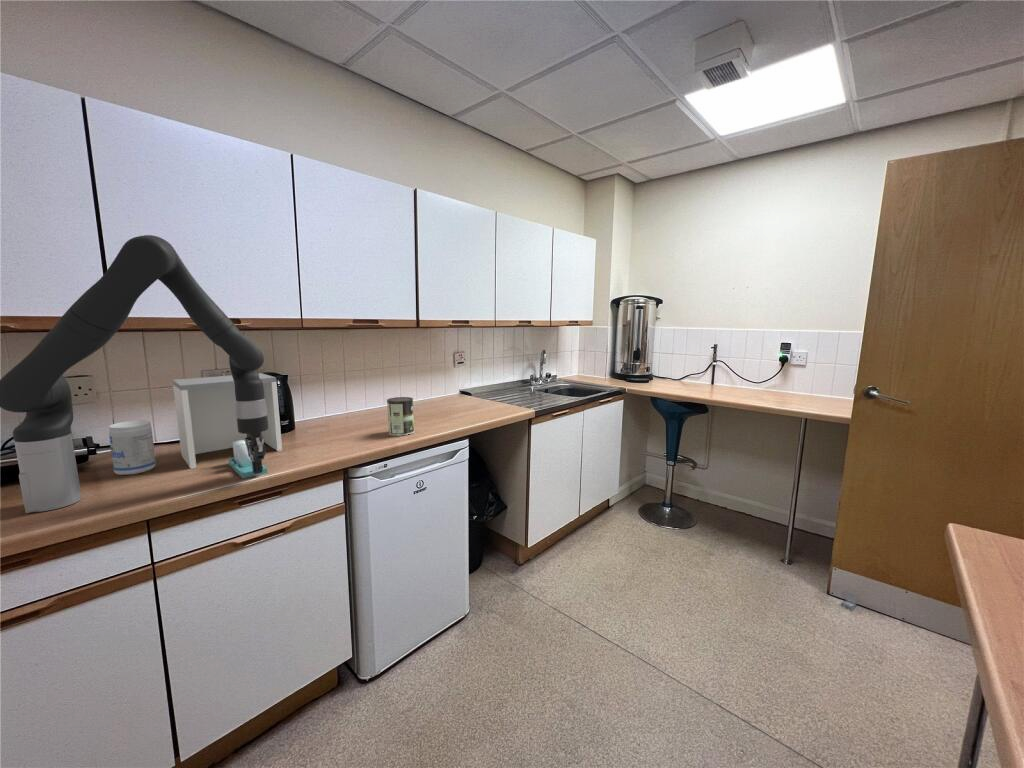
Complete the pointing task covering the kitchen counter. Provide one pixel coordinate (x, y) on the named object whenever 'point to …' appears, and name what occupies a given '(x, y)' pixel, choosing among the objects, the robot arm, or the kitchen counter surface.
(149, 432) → the supplement tub
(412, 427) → the coffee can
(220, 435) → the white shelf
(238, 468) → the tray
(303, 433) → the kitchen counter surface
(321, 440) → the kitchen counter surface
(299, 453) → the kitchen counter surface
